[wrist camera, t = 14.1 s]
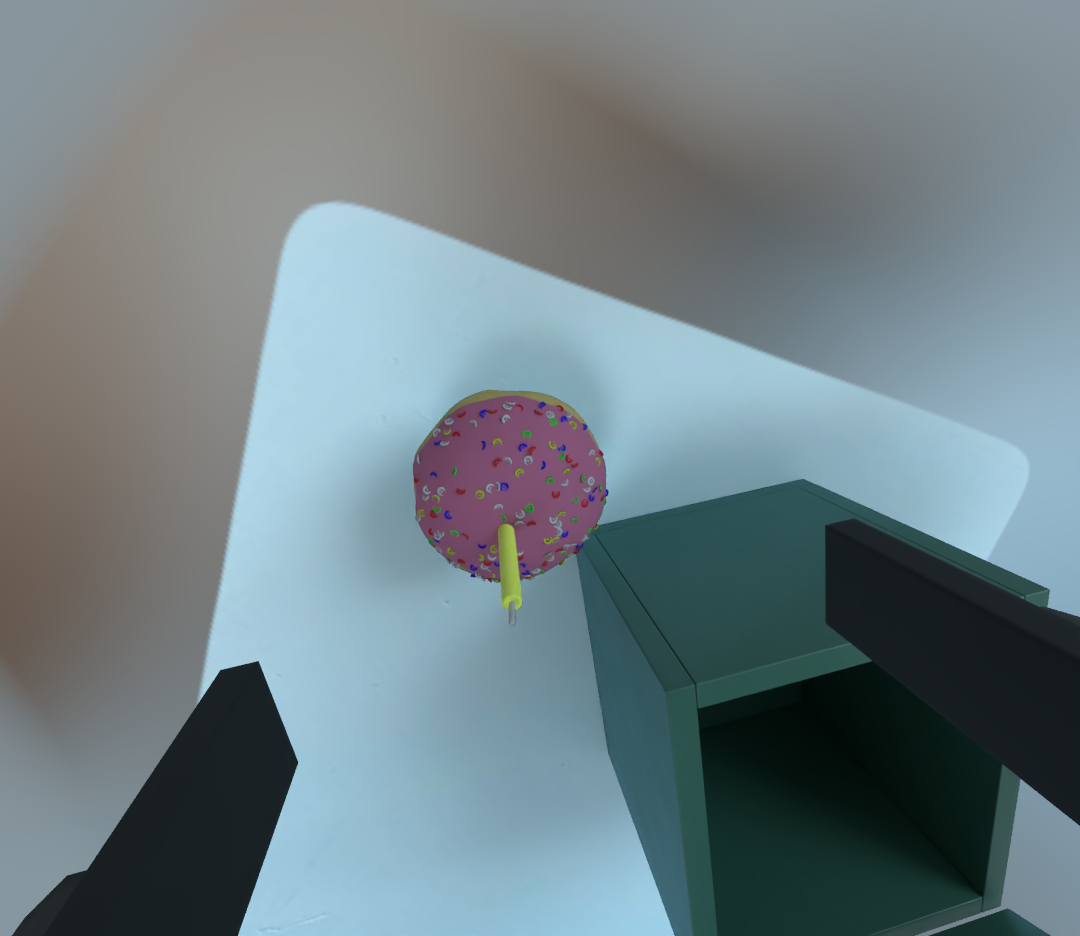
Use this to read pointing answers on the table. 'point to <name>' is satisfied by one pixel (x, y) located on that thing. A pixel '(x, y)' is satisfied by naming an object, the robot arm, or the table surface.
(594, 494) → the cupcake
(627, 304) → the table surface
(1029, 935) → the cool box lid
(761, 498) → the cool box
